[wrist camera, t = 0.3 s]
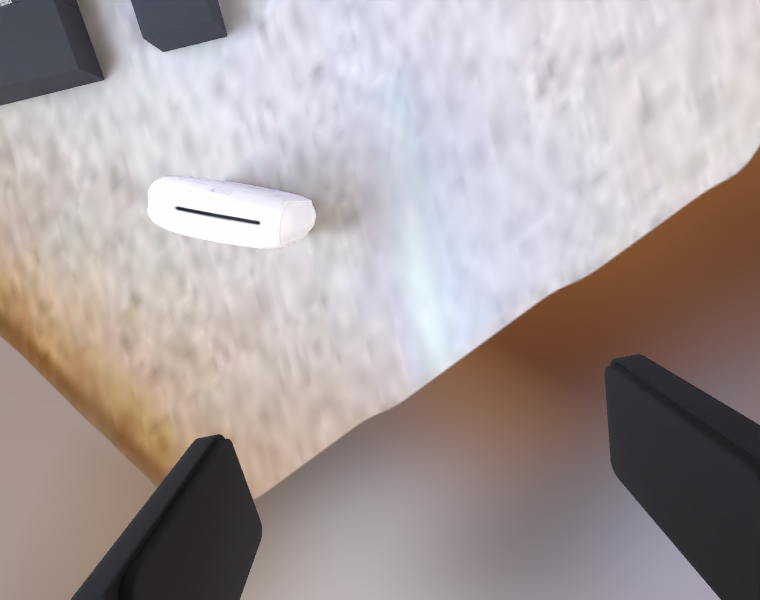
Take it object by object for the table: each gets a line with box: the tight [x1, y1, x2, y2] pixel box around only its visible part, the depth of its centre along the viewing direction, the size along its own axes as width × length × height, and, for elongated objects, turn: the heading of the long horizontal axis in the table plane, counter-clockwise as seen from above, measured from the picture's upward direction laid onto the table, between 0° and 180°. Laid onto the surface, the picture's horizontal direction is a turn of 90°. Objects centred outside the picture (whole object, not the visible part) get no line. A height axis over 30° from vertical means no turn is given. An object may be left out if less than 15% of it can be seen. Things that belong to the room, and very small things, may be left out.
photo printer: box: [148, 176, 316, 249], centre depth 31 cm, size 10×4×12 cm, turn 79°
